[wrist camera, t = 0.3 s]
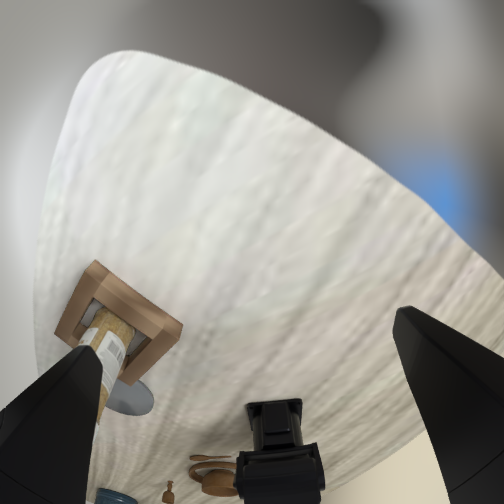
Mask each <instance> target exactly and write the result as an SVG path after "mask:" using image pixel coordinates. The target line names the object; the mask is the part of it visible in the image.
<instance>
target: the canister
mask: <svg viewBox="0 0 504 504" xmlns="http://www.w3.org/2000/svg"><path fill="white" fill-rule="evenodd" d="M94 504H138V502H137V501H136V500H135V499H133V498H131V497H128V496H126V495H123V494H121V493H118V492H115V491H111V490H107V489H98V491H97V492H96V499H95V503H94Z"/></svg>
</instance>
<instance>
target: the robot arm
mask: <svg viewBox="0 0 504 504" xmlns="http://www.w3.org/2000/svg"><path fill="white" fill-rule="evenodd" d="M393 338H394V341H395V344H396V347H397V350H398V353H399V356H400V359H401V363H402V366H403V369H404V373H405V376H406V379H407V382H408V384H409V387H410V389H411V391H412V394H413V396H414V399H415V401H416V404H417V406H418V409H419V411H420V414H421V416H422V419H423V421H424V424H425V427H426V429H427V432H428V435H429V437H430V440H431V443H432V446H433V449H434V452H435V455H436V457H437V461H438V464H439V467H440V470H441V473H442V476H443V479H444V483H445V486H446V489H447V492H448V497H449V500H450V504H504V358H503V357H501V356H500V355H498V354H496V353H494V352H493V351H491V350H489V349H488V348H486V347H484V346H482V345H481V344H479V343H477V342H476V341H474V340H472V339H470V338H469V337H467V336H465V335H463V334H462V333H460V332H458V331H456V330H455V329H453V328H451V327H449V326H447V325H446V324H444V323H442V322H440V321H438V320H437V319H435V318H433V317H431V316H429V315H428V314H426V313H424V312H422V311H420V310H419V309H417V308H415V307H413V306H405V307H400V308H398V309H397V311H396V316H395V321H394V326H393ZM102 375H103V365H102V362H101V361H100V359H99V358H98V356H97V354H96V353H95V351H94V349H93V348H92V347H91V346H90V345H78V346H77V347H76V348H74V349H73V350H72V351H71V352H69V353H68V354H67V355H66V356H65V357H63V358H62V359H61V360H60V361H59V362H57V363H56V364H55V365H54V366H53V367H51V368H50V369H49V370H48V371H47V372H45V373H44V374H43V375H42V376H41V377H39V378H38V379H37V380H36V381H35V382H34V383H33V384H31V385H30V386H29V387H28V388H27V389H25V390H24V391H23V392H22V393H21V394H20V395H18V396H17V397H16V398H15V399H14V400H13V401H12V402H10V404H8V405H7V406H6V408H4V409H2V411H0V504H85V502H86V491H87V482H88V473H89V465H90V458H91V451H92V445H93V438H94V433H95V427H96V422H97V416H98V410H99V401H100V392H101V383H102ZM247 409H248V415H249V420H250V425H251V430H252V431H253V441H254V451H247V452H245V451H240V453H239V457H237V458H236V473H235V477H234V481H233V488H235V489H236V490H237V492H238V494H239V497H240V499H244V504H320V502H321V495H320V491H323V490H325V477H324V470H323V466H322V462H321V458H320V454H319V450H318V446H317V442H315V443H312V444H308V445H303V439H302V433H301V427H300V426H301V418H302V399H291V400H282V401H272V402H260V403H249V404H248V405H247Z"/></svg>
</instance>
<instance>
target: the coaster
mask: <svg viewBox="0 0 504 504" xmlns="http://www.w3.org/2000/svg"><path fill="white" fill-rule="evenodd" d="M153 404H154V398H153V395H152V393H151V391H150V390H149V389H148V388H147V387H146V386H145V385H144V384H143V383H142V382H141V381H139V380H137V381H136V382H135V383H134V384H133V385H132V386H131V387H130V386H129V385H127V384H125V383H124V382H122V381H121V380H119V379H117V378H116V380H115V383H114V385H113V388H112V391H111V393H110V396H109V398H108V400H107V402H106V404H105V406H106V407H108V408H110V409H112V410H114V411H116V412H119V413H122V414H126V415H132V416H140V415H145V414H147V413H149V412H150V411H151V410H152V408H153Z"/></svg>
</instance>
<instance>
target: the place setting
mask: <svg viewBox="0 0 504 504" xmlns="http://www.w3.org/2000/svg"><path fill="white" fill-rule="evenodd" d="M228 457H231V456H220V457H208V456H204V455H197V456H192V457H190V460H194V461H204V460H208V459H216V458H228ZM209 467H222V468H232V469H236V463H230V462H204V463H199V464H196V465H194V466H193V467H192V468H191V469H190V470H189V476H190V478H191V479H193V480H195V481H197V482H199V483H202V491H203V492H204V493H206V494H208V495H212V496H219V497H231V496H237V495H239V494H238V492H237V490H236V489H235V488H233V481H234V477H235V474H233V472H231V471H228V470H221V469H219V470H213V471H211V473H208V474H207V475H205V476H204V477H202V476H200V475H198V474H197V473H196V472H195V470H196V469H200V468H209ZM168 482H169V484H168V485H167V487H168V489H167V491H165V492H164V493H163V497H162V502H164V503H167V504H174V494H173V493H172V492H170V491H171V488H172V483H173V482H172V481H168Z"/></svg>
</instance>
